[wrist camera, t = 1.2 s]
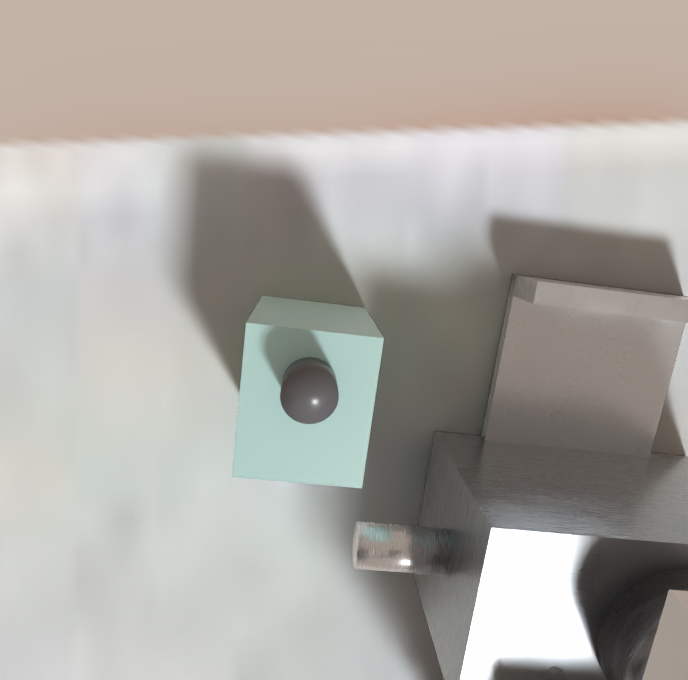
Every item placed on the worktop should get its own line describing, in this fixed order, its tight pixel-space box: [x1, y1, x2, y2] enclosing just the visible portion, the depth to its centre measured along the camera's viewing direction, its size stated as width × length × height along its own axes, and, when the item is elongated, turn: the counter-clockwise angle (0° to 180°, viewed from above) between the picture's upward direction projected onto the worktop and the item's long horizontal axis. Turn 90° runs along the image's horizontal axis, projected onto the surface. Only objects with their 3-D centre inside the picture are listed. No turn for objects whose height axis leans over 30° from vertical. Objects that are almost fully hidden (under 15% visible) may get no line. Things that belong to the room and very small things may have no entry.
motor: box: [352, 274, 688, 680], centre depth 23 cm, size 18×16×12 cm
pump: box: [232, 295, 384, 488], centre depth 23 cm, size 5×6×8 cm
